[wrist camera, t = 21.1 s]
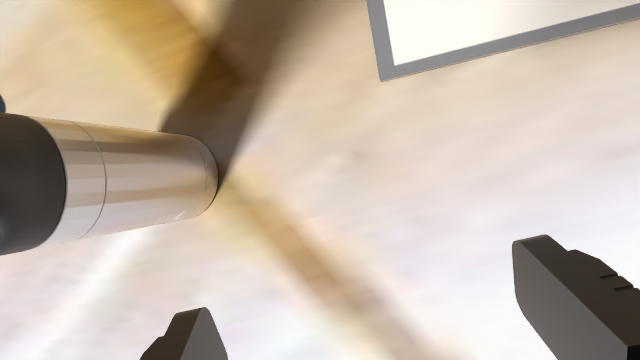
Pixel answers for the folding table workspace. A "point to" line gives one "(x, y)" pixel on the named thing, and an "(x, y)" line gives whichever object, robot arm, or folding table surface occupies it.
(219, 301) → the folding table surface
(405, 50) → the clipboard
